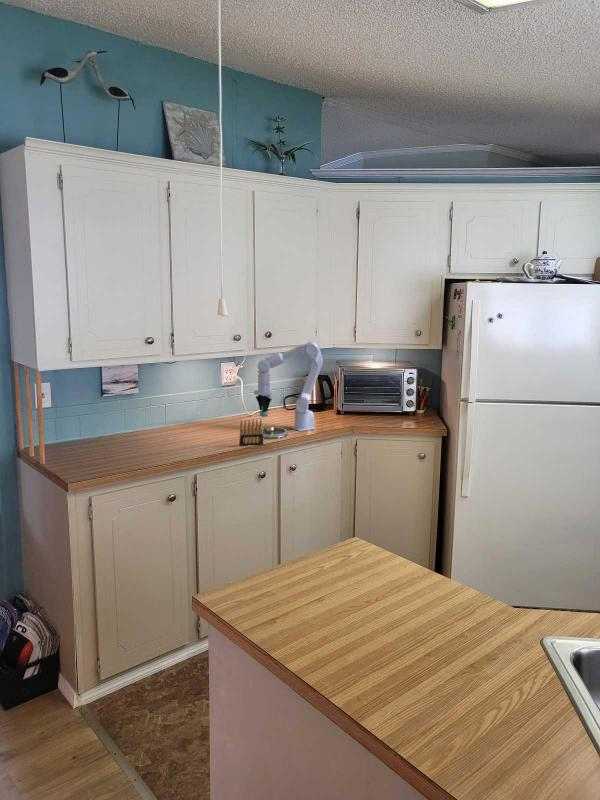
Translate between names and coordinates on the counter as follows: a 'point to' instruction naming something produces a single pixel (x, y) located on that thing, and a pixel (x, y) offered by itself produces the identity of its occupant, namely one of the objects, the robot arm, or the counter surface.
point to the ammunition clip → (253, 437)
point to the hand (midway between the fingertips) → (263, 410)
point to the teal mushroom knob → (263, 412)
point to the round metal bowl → (274, 432)
